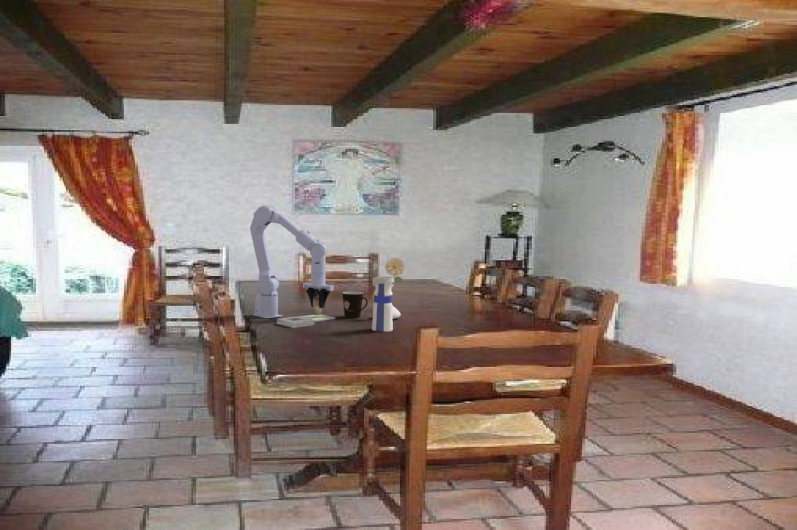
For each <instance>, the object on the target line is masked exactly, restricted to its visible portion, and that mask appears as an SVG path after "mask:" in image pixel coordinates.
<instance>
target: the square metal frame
mask: <svg viewBox="0 0 797 530" xmlns="http://www.w3.org/2000/svg"><path fill="white" fill-rule="evenodd" d="M315 322H316V321H315V320H313V319H309V318H304V317H300V315H299V316H292V317H291V316H290V317H278V318H276V325H278V326H279V325H280V326H283V327H287V328H291V329H294V328H302V327H312V326H315Z"/></svg>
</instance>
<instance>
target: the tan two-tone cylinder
mask: <svg viewBox="0 0 797 530" xmlns="http://www.w3.org/2000/svg"><path fill="white" fill-rule="evenodd" d="M312 315H323V308H319V297H318V296H317V297H313V307H312Z"/></svg>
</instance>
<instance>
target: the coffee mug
mask: <svg viewBox="0 0 797 530" xmlns="http://www.w3.org/2000/svg"><path fill="white" fill-rule="evenodd" d="M363 300H365V305H364V306H363V302H364V301H363ZM342 302H343V303H342V304H343V314H344V318H345V319H361V315H362V311H363V310H364V309H365V308H366V307H367V306H368V303H369V302H368V299H367V298H366V297H364V292H362V291H343V292H342Z"/></svg>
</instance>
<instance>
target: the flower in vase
mask: <svg viewBox="0 0 797 530" xmlns="http://www.w3.org/2000/svg"><path fill="white" fill-rule="evenodd" d="M384 266H385V267H384V269H385V271H386V274H389V275H391V276H392V277H393V278H394V282H395V283H402V282H404V279H403V278H402V277H401V276H399V275H402V274H404V271H405V270H406V265H405V263H404V260H403V259H401V258H399V257H398V258H397V257H394V258H392V257H391V258H390V259H388V260H387V261H386V264H385V265H384ZM393 287H394V284H392V285H391V290H392V288H393ZM392 307H393V314H392V320H394V319H397V318H400V317H401V315H402V314H401V312H400V311H399V310H398V309H397V308H396V307H395V306H394V305H393V304H392Z"/></svg>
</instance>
